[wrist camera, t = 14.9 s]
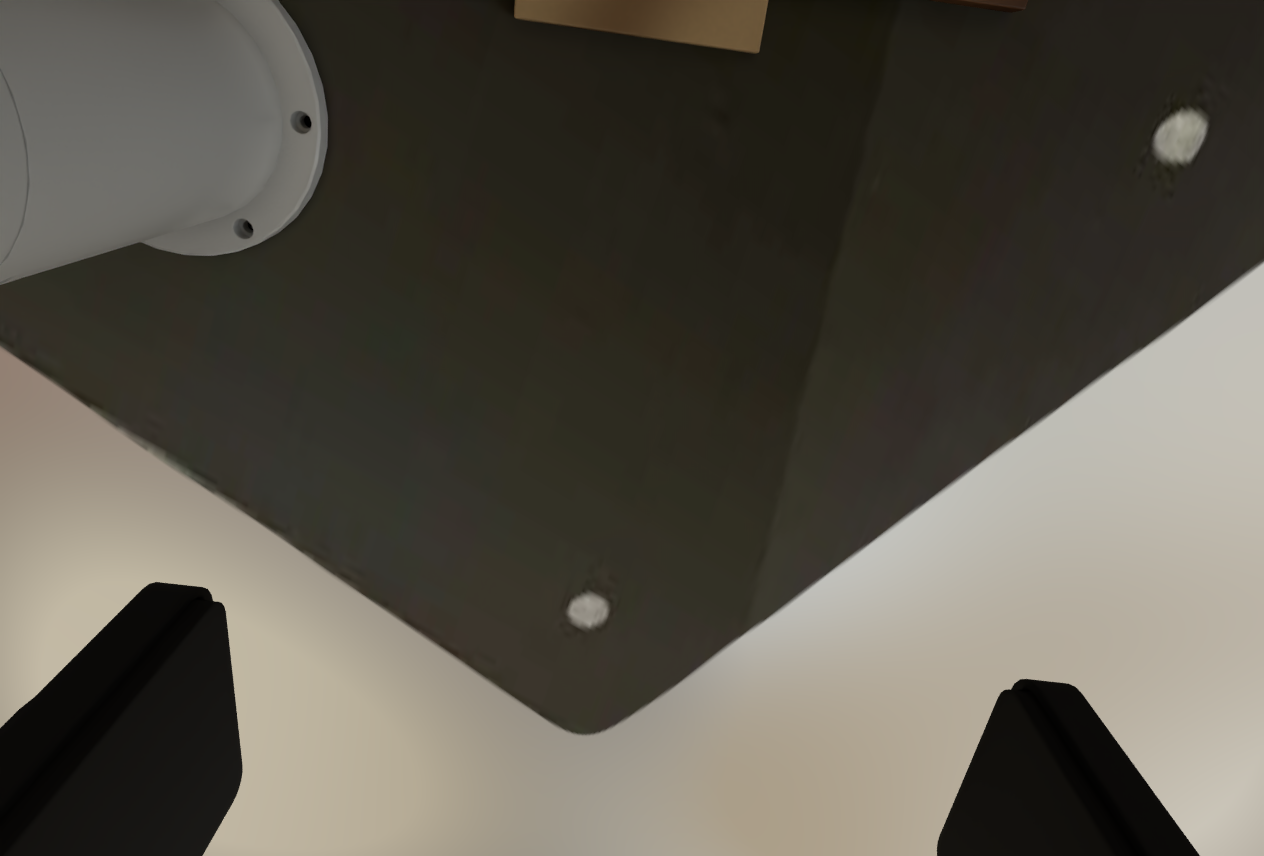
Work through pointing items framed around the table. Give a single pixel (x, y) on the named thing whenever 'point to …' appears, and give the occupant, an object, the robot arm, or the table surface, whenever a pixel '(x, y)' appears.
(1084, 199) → the table surface
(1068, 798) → the robot arm
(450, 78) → the table surface
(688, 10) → the spatula
